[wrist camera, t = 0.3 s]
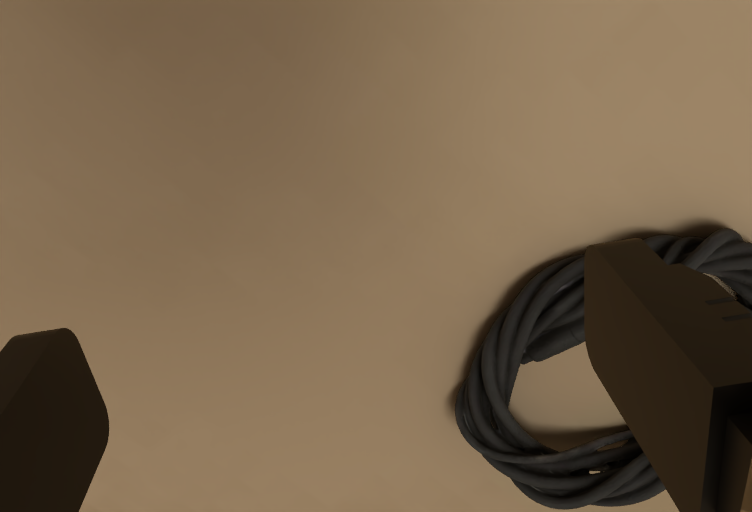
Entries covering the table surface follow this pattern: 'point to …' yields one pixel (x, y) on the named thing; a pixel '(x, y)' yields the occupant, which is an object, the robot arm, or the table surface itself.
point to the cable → (550, 337)
